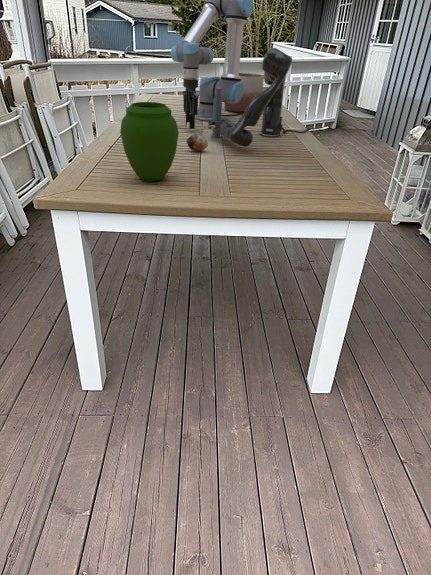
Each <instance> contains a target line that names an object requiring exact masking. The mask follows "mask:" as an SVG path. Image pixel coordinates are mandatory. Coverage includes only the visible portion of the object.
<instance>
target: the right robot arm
mask: <svg viewBox="0 0 431 575" xmlns="http://www.w3.org/2000/svg"><path fill="white" fill-rule="evenodd" d="M292 64H293V58H292V56H291V55H289V54H287V53H286V52H284V51H283V50H281V49H279V48H277V47H271V48H269V49H268V50H267V51H266V53H265V54H264V57H263V59H262V62H261V70H262V71H263V76H264V83H265V84H266V85H268V87H267V88H265V89H263V92H261V93H260V94H258V95H256V96H255V97H254V98H253V99H252V100H251V101H250V102H249V104H248V106H247V108H246V110H245V112H244V114H242V115H241V117H240V118H239V119H238V121H237V122H236V123H235V122H233V121H231V120H229V119H227V118H221V120H220V121H213V120H210V121H208V126H207V128H208V130H211V129H213V127H214V128H215V129H217V131H218V133H219V134H221V136H222V137H224V138H226V139H228V140H229V141H230V142H232V143H233V144H236V145H238V146H241V147H243V148H246V147H247V148H248V146H251V144H252V143H253V140H254V138H253V137H254V135H253V133H252V131H250V130H248V129H246V127H256V126H257V124H258V122H259V121H260V119H261V116H262V120H261V130H260V131H261V132H260V135H261V136H264V137H268V138H275V137H281V132H283V134H284V135H285V134H286V132H292V133H299V134H304V133H307V132H309V131H310V130H309V128H305V130H303V131H302V130H301V131H300V130H293V129H285V128H284V127H283V124H282V123H283V122H282V121H283V116H282V110H283V109H282V108H283V100H284V92H285V86H286V79H287V75H288V73H289V71H290V69H291V67H292Z"/></svg>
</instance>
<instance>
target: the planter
mask: <svg viewBox="0 0 431 575" xmlns="http://www.w3.org/2000/svg"><path fill="white" fill-rule="evenodd" d="M239 76H240V78H241V82H242V83H243V85H244V86H243V87H244V92H243V96H242V98H241V99H240V101H239V102H238V103H236V104H232V103H231V104H229V103H224V102H223V103H224V105H223V107H224V109H225V110H226V111H228V112H231V113H235V114H239V113H243V112H245V110H246V108H247V106H248V104H249V102H250V101H251V100H252V99H253V98H254V97H255V96H256V95H258V94H260V93H261V92H263V91H264V83H265V81H264V74H260V73H259V74H258V73H250V72H239Z"/></svg>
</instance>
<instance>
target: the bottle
mask: <svg viewBox="0 0 431 575" xmlns="http://www.w3.org/2000/svg"><path fill="white" fill-rule="evenodd" d="M222 113H223V102H222V98H221V88H216V95H215V97H214V106H213V121H220V120H222V116H221V115H223V114H222ZM211 132H212V134H211V136H212V138H213V139H220V138H221V136H222V135H221V134H219V133H218V131H217V129H215V128H214V127H212V131H211Z"/></svg>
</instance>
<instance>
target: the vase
mask: <svg viewBox="0 0 431 575" xmlns="http://www.w3.org/2000/svg"><path fill="white" fill-rule="evenodd" d="M125 113H126V114H125V115H124V117H122V119H121V122H120V123H121V124H120V130H119V133H120V138H121V142H122V147H123V150H124V154H125V155H126V158H127V160H128V163H129V165H130V167H131V168H132V170H133V172H134V173H135V175H136V176H137V177H138V178H139V179H141V180H143V181H145V182H159V181H161V180H163V179H164V178H165V176H166V175H167V174H168V173H169V170H170V169H171V167H172V165H173V162H174V159H175V157H176V156H175V155H176V153H177V147H178V140H179V129H178V122H177V120H176V119H175V117H174V116H173V115H172V109H171V108H170V107H169V106H167V105H166V104H164V103H162V102H155V101H138V102H132V103H131V104H130V105H128V107H127V108H125Z"/></svg>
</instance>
